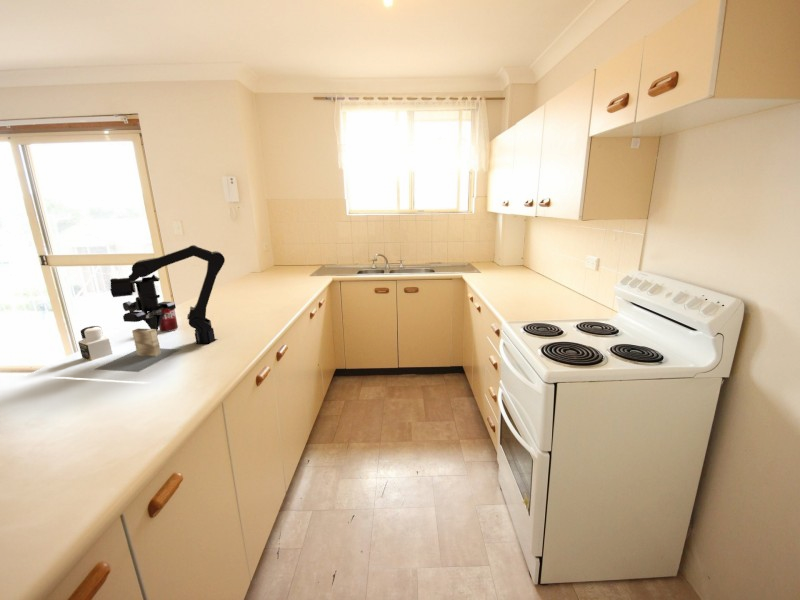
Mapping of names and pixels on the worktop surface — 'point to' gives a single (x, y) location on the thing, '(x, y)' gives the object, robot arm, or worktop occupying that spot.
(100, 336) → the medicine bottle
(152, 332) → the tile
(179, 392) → the worktop surface
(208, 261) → the robot arm
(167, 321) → the soda can
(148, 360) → the mat
